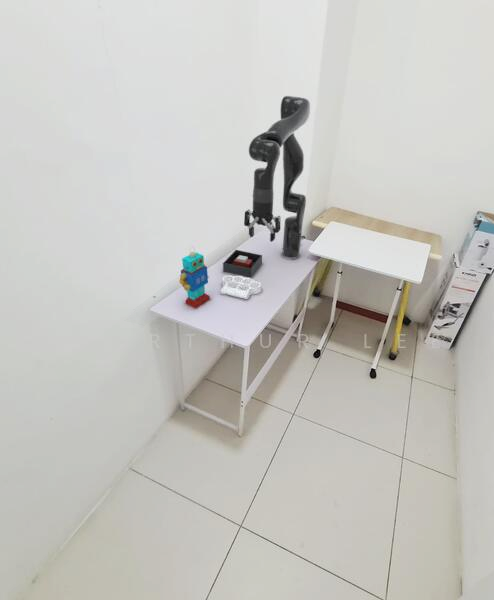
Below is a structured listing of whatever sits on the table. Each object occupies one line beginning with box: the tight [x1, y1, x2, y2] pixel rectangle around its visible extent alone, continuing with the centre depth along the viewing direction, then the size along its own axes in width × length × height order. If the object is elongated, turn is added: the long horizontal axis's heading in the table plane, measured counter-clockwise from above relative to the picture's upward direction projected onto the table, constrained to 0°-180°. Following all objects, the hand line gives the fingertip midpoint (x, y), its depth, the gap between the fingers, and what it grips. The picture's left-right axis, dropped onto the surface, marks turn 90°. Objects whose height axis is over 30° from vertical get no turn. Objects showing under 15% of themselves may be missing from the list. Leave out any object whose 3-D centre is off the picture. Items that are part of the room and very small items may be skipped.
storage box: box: [222, 249, 263, 279], centre depth 163 cm, size 15×14×5 cm
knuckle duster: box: [220, 274, 262, 300], centre depth 148 cm, size 3×18×15 cm
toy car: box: [234, 255, 252, 268], centre depth 162 cm, size 8×4×5 cm, turn 74°
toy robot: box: [178, 246, 211, 309], centre depth 132 cm, size 12×6×25 cm, turn 148°
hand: (261, 238), depth 132 cm, fingers open, 8 cm apart
